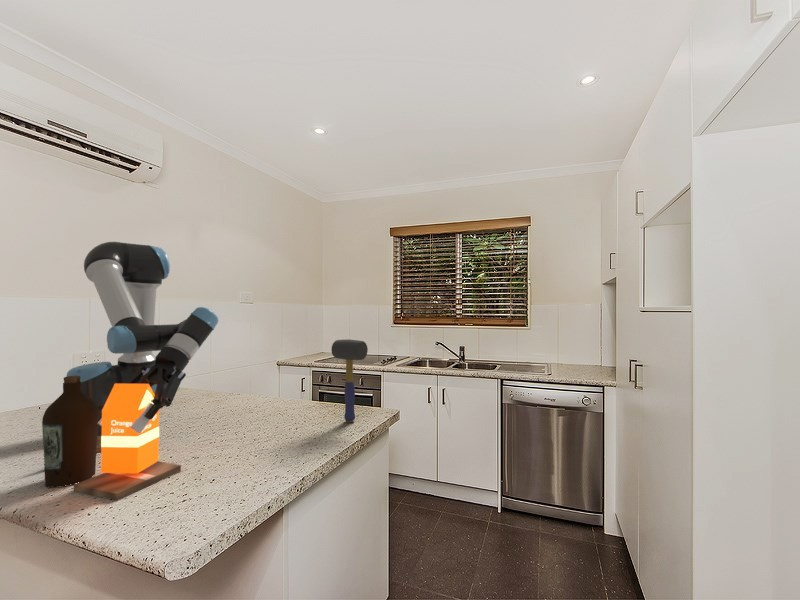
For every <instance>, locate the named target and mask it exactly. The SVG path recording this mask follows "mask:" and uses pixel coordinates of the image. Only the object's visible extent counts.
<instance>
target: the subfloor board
mask: <svg viewBox="0 0 800 600" xmlns="http://www.w3.org/2000/svg"><path fill="white" fill-rule="evenodd" d="M181 466H182V465H181V464H174V463H170V462H163V461H157V462H155V463H154V464H152V465H150V466H149V467H147V468H145V469H144V470H142V471H140V472H139V473H100V474H98V475H94V476H93V477H91V478H90V479H87V480H84V481H82V482H79V483H77V484H73V492H75V491H78V492H77V493H80V492H82V493H81V494H84V493H85V494H84V495H89V494H90V495H89V496H93V495H94V496H93V497H97V498H102V497H103V499H107V500H111V499H112V500H113V501H115V502H117V501H119V500H121V499H124V498H126V497H129V496H130V495H132V494H135V493H137V492H139V491H141V490H143V489H146V488H147V487H149V486H152V485H154V484H156V483H158V482H161V481H162V479H163V480H165V479H167V478H170V477H171V476H174V475H175V474H177V473H180V472H182V467H181ZM173 474H174V475H173ZM160 480H161V481H160ZM112 500H111V501H112Z"/></svg>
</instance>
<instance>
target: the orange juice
mask: <svg viewBox="0 0 800 600" xmlns="http://www.w3.org/2000/svg"><path fill="white" fill-rule="evenodd" d="M153 399H154V393H153V391H152V389H151V387H150V385H149V384H114V387H113V389H112V391H111V393H110V395H109V397H108V399H107V401H106V403H105V405H104V407H103V409H102V436H101V454H100V456H101V458H100V460H101V462H100V474H103V473H139V472H140V471H142V470H144V469H145V468H147V467H149V466H150V465H152V464H154V463H155V462H157V461H159V460H160V459H159V457H160V454H159V453H160V450H159V449H160V445H159V444H160V409H159V410H158V412H157V413H156V415H155V416H154V417H153V418H152V419H151V420H150V421H149V423H148V424H147V425H146V427H145V428H144V429H143V431H142V432H141V433H140V434H139V433H137V432H135V431H134V430H133V429H131V428H130V427H131V426H132V424H133V423H134V422H135V420H136V419H137V418H139V416H140V414H141V412H142V411H143V410H144V409H145V407H146V406H147V405H148V403H152V402H151V400H153ZM152 404H154V403H152ZM159 462H160V461H159Z"/></svg>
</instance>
